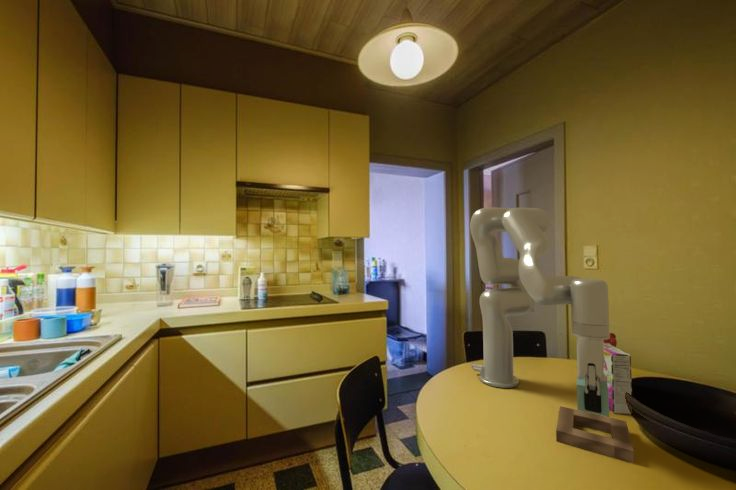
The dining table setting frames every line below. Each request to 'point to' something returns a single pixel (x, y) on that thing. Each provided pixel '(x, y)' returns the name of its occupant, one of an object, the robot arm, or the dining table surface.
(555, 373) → the dining table surface
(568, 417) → the walnut puzzle board
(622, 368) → the candy bar box
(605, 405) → the teal cube
